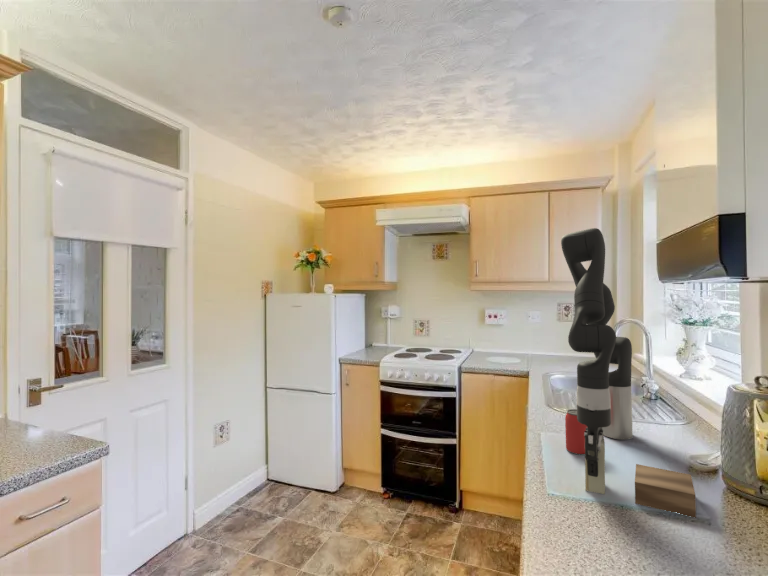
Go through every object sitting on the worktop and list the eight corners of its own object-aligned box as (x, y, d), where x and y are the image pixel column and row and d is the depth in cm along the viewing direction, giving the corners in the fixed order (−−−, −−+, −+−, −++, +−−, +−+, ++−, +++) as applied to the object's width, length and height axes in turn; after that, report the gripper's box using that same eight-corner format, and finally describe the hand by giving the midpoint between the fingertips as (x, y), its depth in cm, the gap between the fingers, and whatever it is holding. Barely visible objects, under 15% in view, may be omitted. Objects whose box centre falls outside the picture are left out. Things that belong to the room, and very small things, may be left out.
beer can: (570, 445, 125) (569, 407, 125) (593, 450, 120) (592, 411, 120) (562, 451, 120) (561, 412, 120) (585, 457, 116) (584, 416, 116)
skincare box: (585, 480, 102) (584, 433, 102) (605, 483, 100) (603, 436, 100) (585, 491, 96) (584, 441, 97) (606, 495, 94) (604, 444, 94)
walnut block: (636, 483, 100) (636, 463, 100) (691, 495, 93) (690, 474, 93) (635, 503, 90) (634, 481, 91) (696, 518, 84) (695, 494, 84)
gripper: (580, 395, 106) (582, 455, 106) (572, 409, 95) (573, 476, 94) (612, 399, 102) (614, 461, 102) (608, 414, 90) (609, 484, 90)
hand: (594, 468), depth 98 cm, fingers open, 8 cm apart
